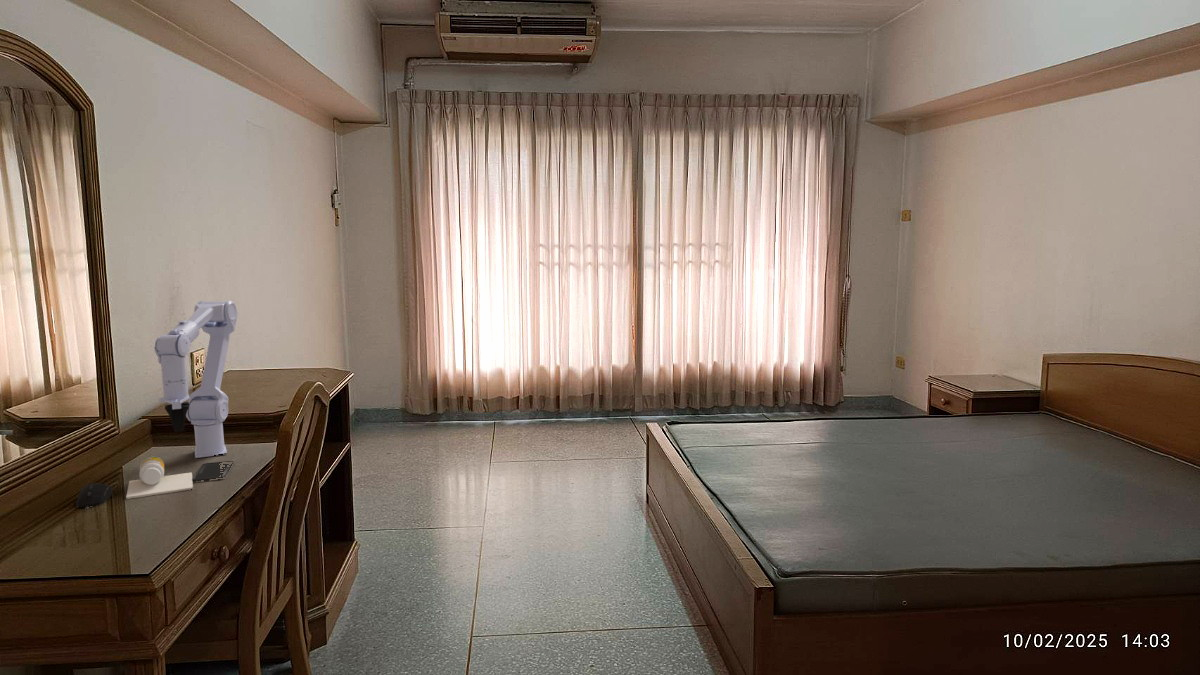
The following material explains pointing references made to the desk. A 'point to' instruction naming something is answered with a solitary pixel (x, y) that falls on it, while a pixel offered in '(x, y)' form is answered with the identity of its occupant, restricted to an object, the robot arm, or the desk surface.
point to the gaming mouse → (93, 495)
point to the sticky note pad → (160, 486)
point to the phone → (211, 471)
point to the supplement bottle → (151, 470)
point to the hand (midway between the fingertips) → (179, 431)
